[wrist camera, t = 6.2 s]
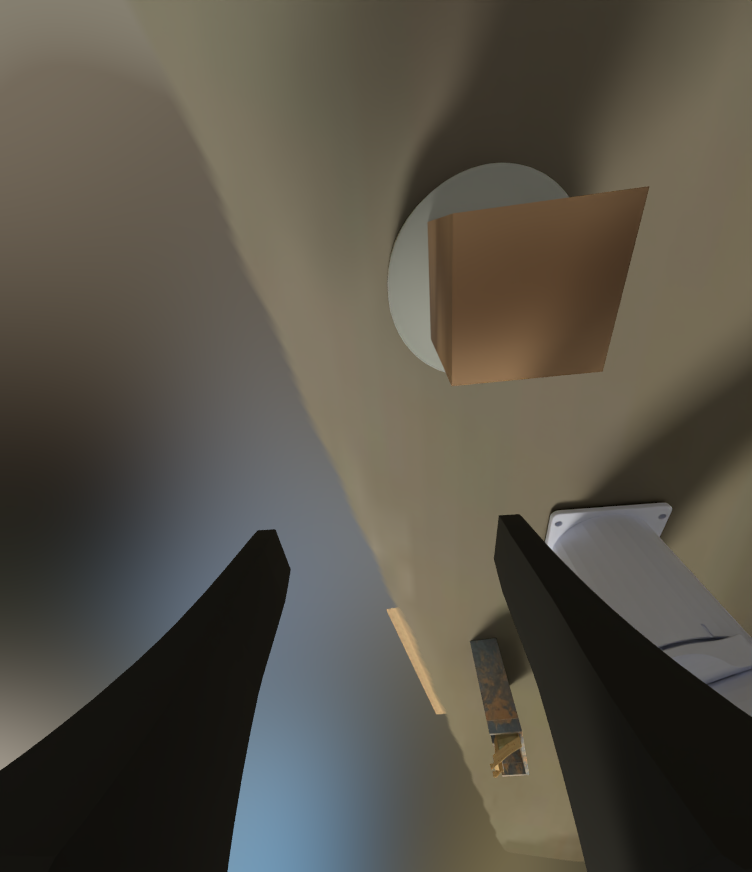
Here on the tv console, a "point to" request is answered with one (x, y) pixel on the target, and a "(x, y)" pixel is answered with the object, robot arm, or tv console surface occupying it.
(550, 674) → the robot arm
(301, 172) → the tv console surface
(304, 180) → the tv console surface
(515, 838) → the tv console surface
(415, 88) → the tv console surface
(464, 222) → the walnut block
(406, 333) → the pale grey round disc
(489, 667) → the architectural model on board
